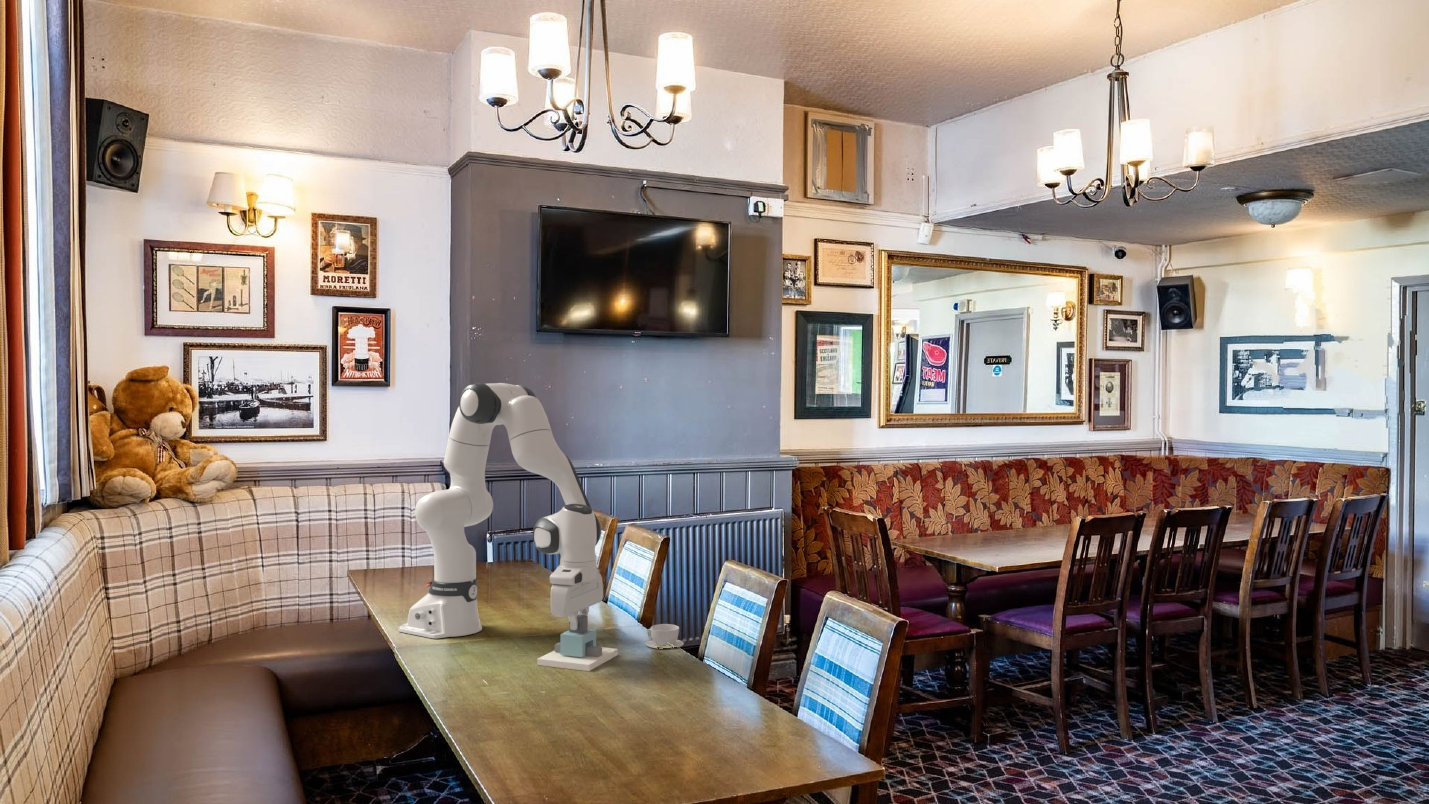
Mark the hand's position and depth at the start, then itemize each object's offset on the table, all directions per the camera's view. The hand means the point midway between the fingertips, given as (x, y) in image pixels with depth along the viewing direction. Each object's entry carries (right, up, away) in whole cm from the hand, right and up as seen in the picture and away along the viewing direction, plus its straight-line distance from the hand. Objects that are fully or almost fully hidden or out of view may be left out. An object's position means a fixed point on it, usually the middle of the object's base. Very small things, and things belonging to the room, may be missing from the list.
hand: (578, 627), depth 239 cm
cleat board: (0, -8, 0) cm, 8 cm away
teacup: (+20, -8, +15) cm, 26 cm away
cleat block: (0, -6, 0) cm, 6 cm away
